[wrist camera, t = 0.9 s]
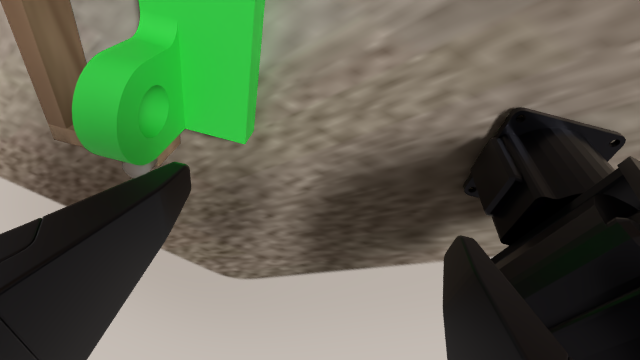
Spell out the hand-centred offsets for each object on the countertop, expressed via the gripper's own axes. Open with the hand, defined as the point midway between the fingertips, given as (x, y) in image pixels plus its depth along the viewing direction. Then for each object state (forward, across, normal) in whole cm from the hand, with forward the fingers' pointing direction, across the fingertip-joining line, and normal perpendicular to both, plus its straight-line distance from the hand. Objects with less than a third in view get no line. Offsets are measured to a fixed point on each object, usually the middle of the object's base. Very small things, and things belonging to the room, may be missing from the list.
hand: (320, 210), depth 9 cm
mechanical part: (+12, +9, 0) cm, 15 cm away
